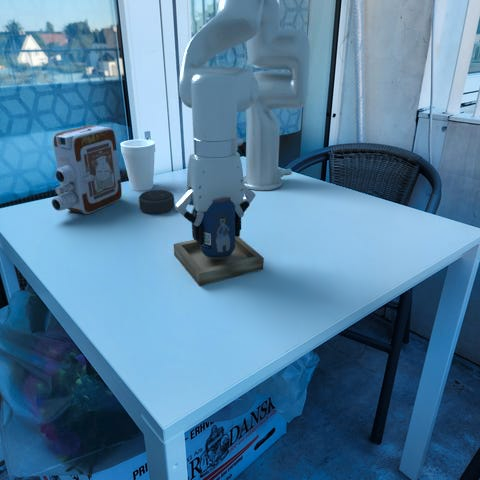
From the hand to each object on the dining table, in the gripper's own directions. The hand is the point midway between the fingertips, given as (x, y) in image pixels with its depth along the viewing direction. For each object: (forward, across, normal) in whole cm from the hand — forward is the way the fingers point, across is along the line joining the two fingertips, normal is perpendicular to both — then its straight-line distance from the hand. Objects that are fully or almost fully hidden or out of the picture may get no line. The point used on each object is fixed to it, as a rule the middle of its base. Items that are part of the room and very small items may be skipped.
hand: (217, 237), depth 83 cm
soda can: (+3, 0, 0) cm, 3 cm away
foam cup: (+6, +1, -51) cm, 51 cm away
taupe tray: (+5, 0, 0) cm, 5 cm away
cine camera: (+6, +18, -41) cm, 45 cm away
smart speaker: (+6, +2, -33) cm, 33 cm away
